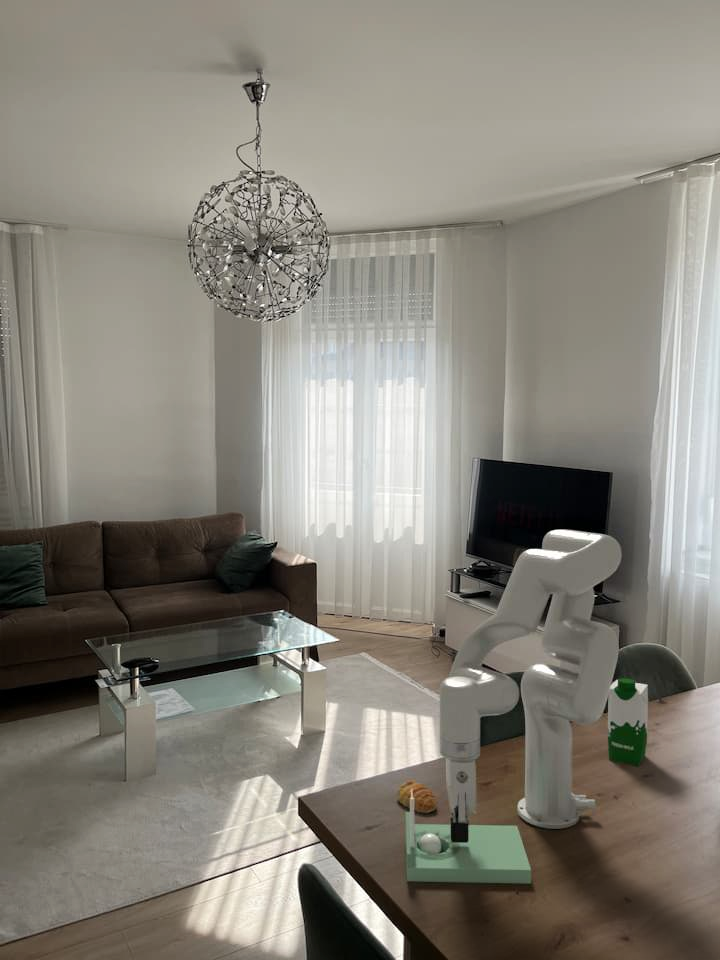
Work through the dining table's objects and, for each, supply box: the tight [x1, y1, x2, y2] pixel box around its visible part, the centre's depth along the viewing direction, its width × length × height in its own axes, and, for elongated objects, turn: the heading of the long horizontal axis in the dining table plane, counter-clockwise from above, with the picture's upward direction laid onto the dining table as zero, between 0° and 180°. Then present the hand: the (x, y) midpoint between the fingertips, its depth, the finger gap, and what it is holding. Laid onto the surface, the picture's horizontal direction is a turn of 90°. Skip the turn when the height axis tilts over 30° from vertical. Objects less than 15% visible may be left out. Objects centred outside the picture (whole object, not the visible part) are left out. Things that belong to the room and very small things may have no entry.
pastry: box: [396, 780, 438, 814], centre depth 163 cm, size 9×7×4 cm
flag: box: [409, 789, 415, 848], centre depth 139 cm, size 1×4×14 cm, turn 178°
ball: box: [419, 833, 441, 854], centre depth 142 cm, size 4×4×4 cm
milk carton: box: [607, 677, 649, 767], centre depth 184 cm, size 9×9×20 cm
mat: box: [405, 811, 532, 885], centre depth 142 cm, size 22×15×5 cm
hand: (459, 839), depth 142 cm, fingers closed
